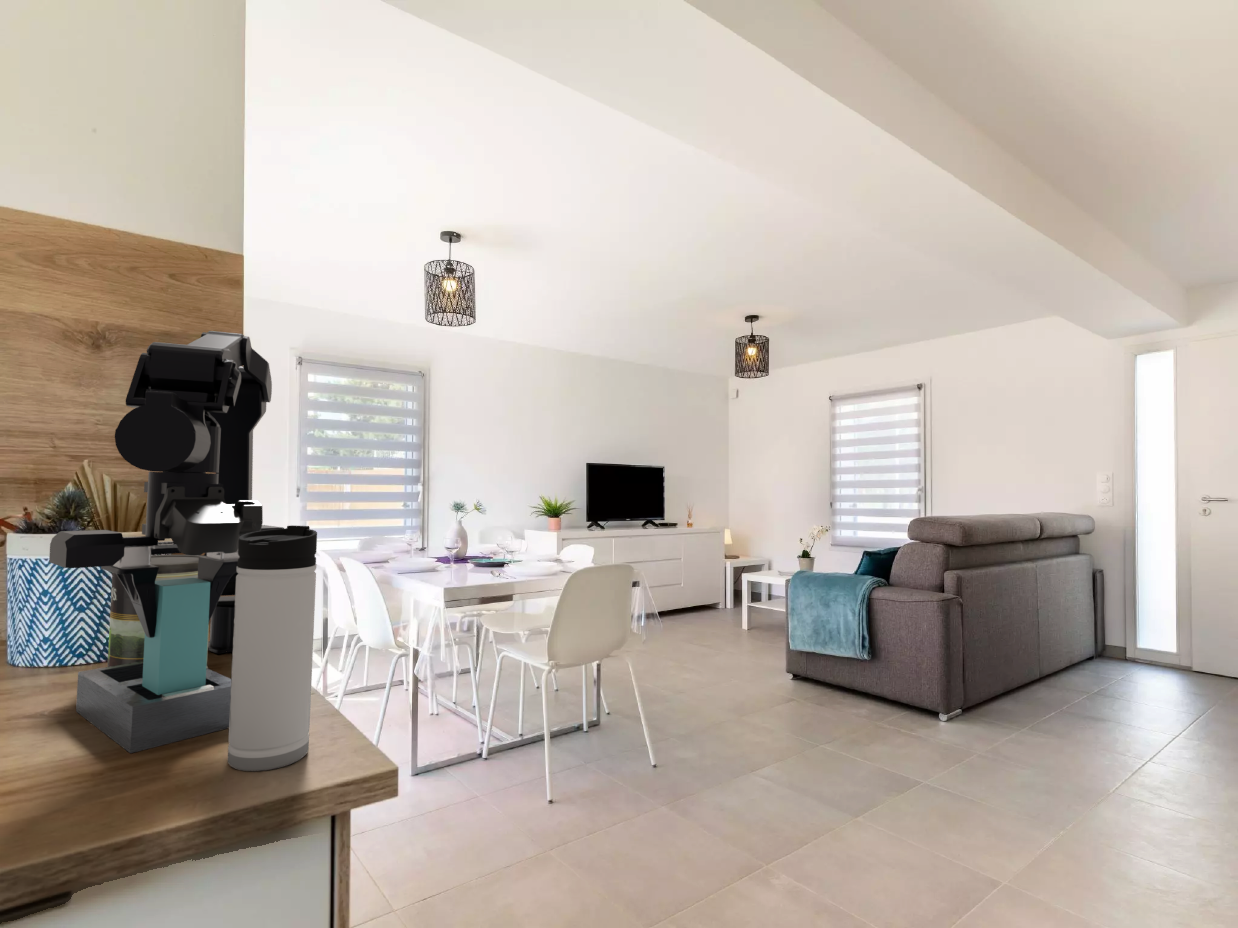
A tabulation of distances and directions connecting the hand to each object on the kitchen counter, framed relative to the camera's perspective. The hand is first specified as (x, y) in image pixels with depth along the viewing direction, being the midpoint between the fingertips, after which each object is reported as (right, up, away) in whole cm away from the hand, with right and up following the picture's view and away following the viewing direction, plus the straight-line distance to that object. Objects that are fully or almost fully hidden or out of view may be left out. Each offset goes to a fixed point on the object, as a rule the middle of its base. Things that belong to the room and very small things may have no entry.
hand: (176, 633), depth 64 cm
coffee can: (-13, -10, +16) cm, 23 cm away
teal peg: (0, -5, 0) cm, 5 cm away
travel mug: (+12, -9, -6) cm, 17 cm away
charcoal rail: (-3, -9, +2) cm, 10 cm away
